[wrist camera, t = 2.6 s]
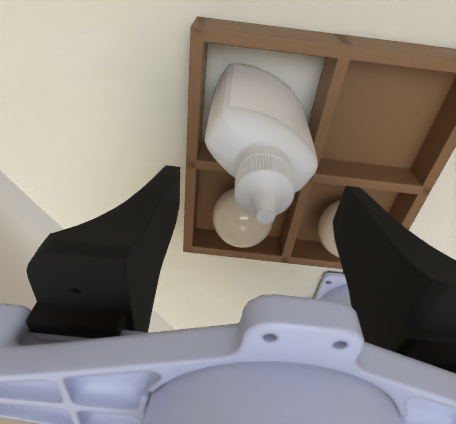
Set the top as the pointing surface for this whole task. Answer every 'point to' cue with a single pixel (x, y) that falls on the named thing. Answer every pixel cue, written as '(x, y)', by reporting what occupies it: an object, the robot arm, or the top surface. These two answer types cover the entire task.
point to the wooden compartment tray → (332, 134)
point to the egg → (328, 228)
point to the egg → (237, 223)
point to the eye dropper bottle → (260, 140)
